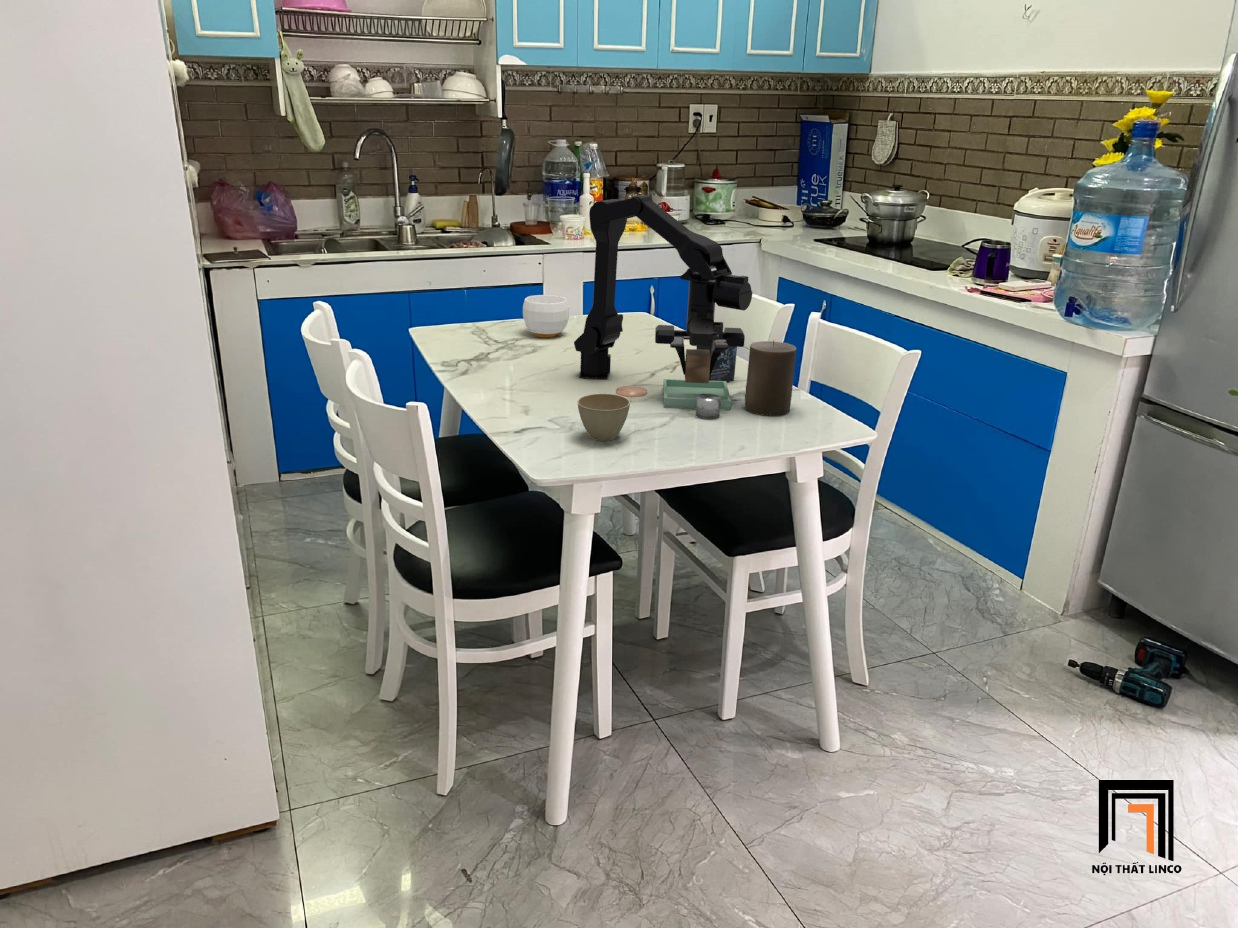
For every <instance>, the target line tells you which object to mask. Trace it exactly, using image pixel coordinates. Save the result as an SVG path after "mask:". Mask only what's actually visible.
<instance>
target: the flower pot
mask: <svg viewBox="0 0 1238 928" xmlns="http://www.w3.org/2000/svg"><path fill="white" fill-rule="evenodd" d="M576 403H577V409H578V413H579V416H580V420H581V422H582V425H583V426H584V429H585V431H586V432H587V435H588V436H589V437H590V439H592V440H595V441H600V442H601V441H602V442H606V441H612V440H615V439H616V438H617V437H618V435H619V434H620V432H621V431H622V428H623V427H624V425H625V423H626V421H627V419H628V415H629V411H630V406H631V401H630V399H629V398H628V397H625V396H621V395H618V394H614V393H599V392H598V393H591V394H587V395H586V394H585V395H583V396H581V397H579V398H578V399H577V402H576Z"/></svg>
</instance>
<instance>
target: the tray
mask: <svg viewBox="0 0 1238 928" xmlns="http://www.w3.org/2000/svg"><path fill="white" fill-rule="evenodd" d="M662 386H663V387H662V390H663V393H662V395H663V408H665V409H688V410H689V409H691V410H692V409H693V410H696V401H697V396H698V395H700V394H714V395H718V396H720V397H721V406H720V411H731V407H732V399H731V396H730V391H729V388H728V383H727V381H709V383H687V382H685V379H675V378H674V379H673V378H671V379H670V378H663V384H662Z"/></svg>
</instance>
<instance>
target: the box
mask: <svg viewBox="0 0 1238 928" xmlns="http://www.w3.org/2000/svg"><path fill="white" fill-rule="evenodd" d="M695 349H698V350H709V351H710V355H711V350H712V346H709V347H707V346H702V345H697V346H696V348H695ZM737 351H738V347H731V346H729V345H728V350H723V351H722V352H721V354H720V355H719V357H718V359H717V361H716V363H715V366H714V368H713V370H712V373H711V375H710V376H709V381H726V382H730V381H734V380H735V374H736V363H737V361H736V360H737V353H738V352H737Z"/></svg>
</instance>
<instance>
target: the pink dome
mask: <svg viewBox="0 0 1238 928" xmlns="http://www.w3.org/2000/svg"><path fill="white" fill-rule="evenodd" d="M615 393H616V395H620V396H623V397H626V398H640V397H644V396H646V395H648V393H649V392H648V388H646V387H643V386H639V385H623V386H618V387H617V388H616V389H615Z"/></svg>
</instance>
